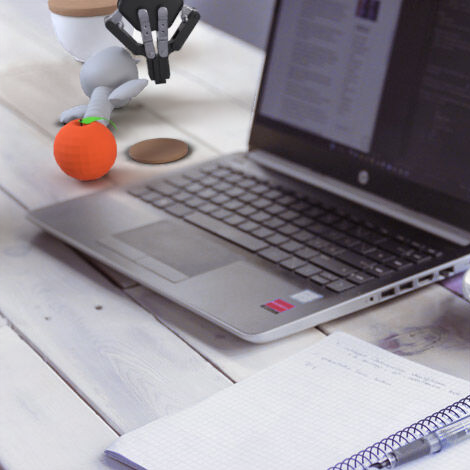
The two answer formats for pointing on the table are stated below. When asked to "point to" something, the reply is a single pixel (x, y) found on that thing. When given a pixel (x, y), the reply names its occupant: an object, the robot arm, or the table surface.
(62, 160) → the clementine
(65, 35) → the lidded bowl
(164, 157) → the cork coaster
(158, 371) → the table surface
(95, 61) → the toy creature
